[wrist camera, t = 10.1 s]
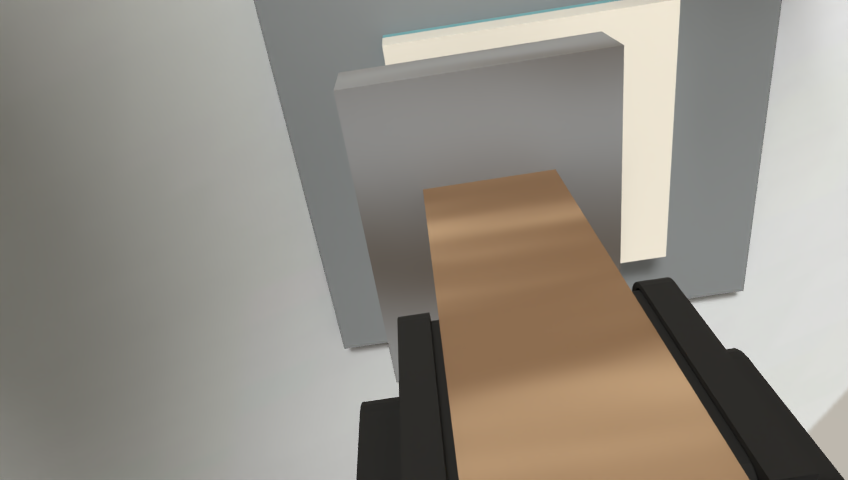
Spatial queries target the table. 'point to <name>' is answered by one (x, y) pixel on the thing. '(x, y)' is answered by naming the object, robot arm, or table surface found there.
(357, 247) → the mat
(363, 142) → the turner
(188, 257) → the table surface
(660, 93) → the tile
